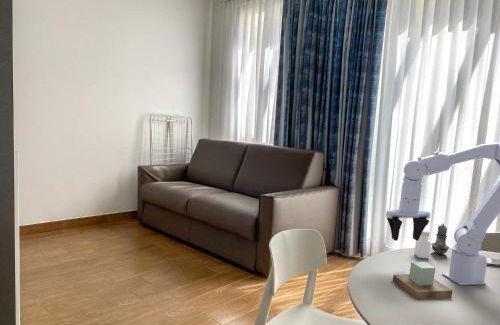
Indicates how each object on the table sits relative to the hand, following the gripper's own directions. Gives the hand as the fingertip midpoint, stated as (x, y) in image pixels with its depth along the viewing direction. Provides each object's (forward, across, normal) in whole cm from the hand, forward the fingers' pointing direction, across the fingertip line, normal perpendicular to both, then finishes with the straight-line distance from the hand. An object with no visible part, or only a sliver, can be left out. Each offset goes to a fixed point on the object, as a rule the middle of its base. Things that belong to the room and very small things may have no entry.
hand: (405, 239), depth 124 cm
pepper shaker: (+10, -14, -9) cm, 19 cm away
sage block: (+7, +4, +15) cm, 17 cm away
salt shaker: (+10, -22, -10) cm, 26 cm away
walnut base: (+9, +4, +15) cm, 18 cm away
